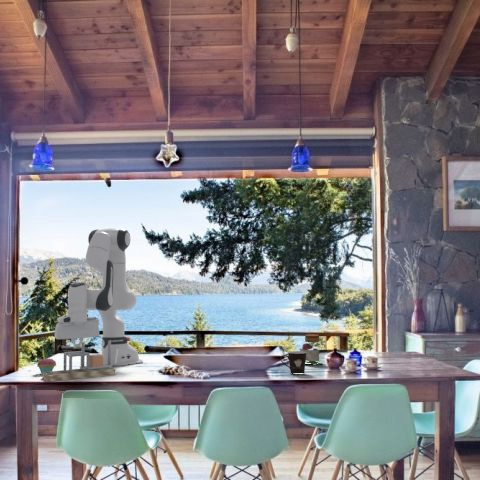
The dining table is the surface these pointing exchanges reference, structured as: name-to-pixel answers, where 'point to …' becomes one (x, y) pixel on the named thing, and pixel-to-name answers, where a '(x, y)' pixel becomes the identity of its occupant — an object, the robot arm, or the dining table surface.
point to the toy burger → (311, 354)
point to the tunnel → (73, 354)
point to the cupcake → (46, 364)
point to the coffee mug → (296, 361)
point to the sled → (96, 359)
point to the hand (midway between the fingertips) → (77, 348)
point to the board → (77, 374)
